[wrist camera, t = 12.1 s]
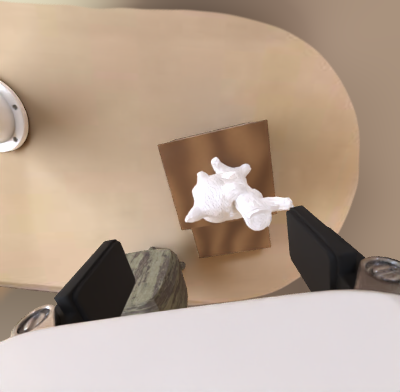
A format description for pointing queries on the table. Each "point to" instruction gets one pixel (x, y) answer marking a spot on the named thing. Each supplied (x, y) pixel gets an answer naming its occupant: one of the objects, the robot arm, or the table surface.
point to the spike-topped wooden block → (156, 282)
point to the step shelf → (201, 161)
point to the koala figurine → (232, 198)
